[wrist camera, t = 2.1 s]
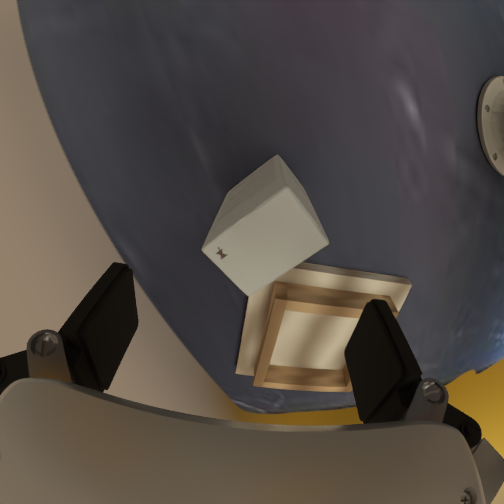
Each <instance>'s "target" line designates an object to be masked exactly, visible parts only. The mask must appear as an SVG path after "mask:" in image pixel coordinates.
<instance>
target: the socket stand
mask: <svg viewBox="0 0 504 504" xmlns="http://www.w3.org/2000/svg"><path fill="white" fill-rule="evenodd" d="M411 286H412V284H411V283H410V281H409V280H408V278H404V277H397V276H391V275H384V274H377V273H371V272H364V271H358V270H351V269H344V268H338V267H331V266H325V265H318V264H312V263H305V262H301V263H300V264H298V265H297V266H295V267H294V268H292V269H291V270H289V271H288V272H286V273H285V274H283V275H282V276H280V277H278V278H277V279H275V280H274V281H272V282H271V283H269V284H268V285H266V286H264V287H263V288H261V289H260V290H258V291H257V292H255V293H253V294H252V295H250V296H249V298H248V303H247V309H246V315H245V321H244V327H243V333H242V338H241V344H240V350H239V356H238V361H237V368H236V374H243V375H250V376H254V378H253V386H258V387H267V388H278V389H289V390H304V391H326V392H351V391H352V389H353V388H352V384H351V380H350V376H349V372H348V368H347V364H346V360H345V357H344V351H345V347H346V345H347V343H348V341H349V339H350V337H351V335H352V333H353V331H354V329H355V327H356V325H357V323H358V320H359V318H360V316H361V314H362V312H363V309H364V307H365V305H366V303H367V302H370V301H371V300H372V299H380V300H386V302H387V303H388V305H389V307H390V309H391V311H392V313H393V315H394V316H395V318H396V317H397V315H398V313H399V311H400V309H401V307H402V305H403V303H404V301H405V299H406V297H407V295H408V292H409V290H410V288H411Z"/></svg>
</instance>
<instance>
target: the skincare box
mask: <svg viewBox="0 0 504 504" xmlns="http://www.w3.org/2000/svg"><path fill="white" fill-rule="evenodd" d="M328 244H329V240H328V238H327V236H326V234H325V231H324V229H323V227H322V225H321V223H320V221H319V219H318V216H317V214H316V212H315V210H314V208H313V206H312V204H311V202H310V200H309V198H308V196H307V194H306V192H305V190H304V188H303V186H302V185H301V184H300V182H299V181H298V180H297V178H296V177H295V175H294V174H293V173H292V171H291V170H290V169H289V167H288V166H287V165H286V164H285V162H284V161H283V160H282V158H281V157H280V156H279V155H275V156H274V157H272V158H271V159H270V160H268V161H267V162H266V163H264V164H263V165H262V166H260V167H259V168H258V169H256V170H255V171H254V172H253V173H251V174H250V175H249V176H247V177H246V178H245V179H243V180H242V181H241V182H240V183H238V184H237V185H236V186H235V187H233V188H232V189H231V190H230V191H228V193H227V195H226V197H225V199H224V201H223V203H222V205H221V208H220V210H219V212H218V214H217V216H216V218H215V220H214V223H213V225H212V227H211V229H210V231H209V233H208V235H207V237H206V240H205V242H204V245H203V247H202V252H203V253H204V254H205V255H206V256H207V257H209V258H210V259H211V260H212V261H213V262H214V263H215V264H216V265H217V266H218V267H219V268H220V269H221V270H222V271H223V272H224V273H225V274H226V275H227V276H228V277H229V278H230V279H231V280H232V281H233V282H234V283H235V284H236V285H237V286H238V287H239V288H240V289H241V290H242V291H243V292H244V293H245V294H246V295H247V296H250V295H252V294H253V293H255V292H257V291H258V290H260V289H261V288H263V287H264V286H266V285H268V284H269V283H271V282H272V281H274V280H275V279H277V278H278V277H280V276H282V275H283V274H285V273H286V272H288V271H289V270H291V269H292V268H294V267H295V266H297V265H298V264H300V263H301V262H303V261H304V260H306V259H307V258H309V257H310V256H312V255H313V254H315V253H316V252H318V251H319V250H321V249H322V248H324V247H325V246H327V245H328Z"/></svg>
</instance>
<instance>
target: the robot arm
mask: <svg viewBox="0 0 504 504" xmlns="http://www.w3.org/2000/svg"><path fill="white" fill-rule="evenodd" d="M477 120H478V131H479V136H480V141H481V144H482V148H483V151H484V153H485V155H486V158H487V159H488V161H489V163H490V165H491V166H492V167H493V168H494V169H495V171H497V172H498V173H499V174H501V175H503V176H504V76H494V77H492V78H491V79H489V80H488V81H487V82H486V83H485V85H484V87H483V88H482V91H481V94H480V97H479V102H478V112H477ZM137 327H138V315H137V307H136V299H135V290H134V281H133V271H132V269H129V266H128V265H127V264H122V263H117V262H114V263H113V264H112V265H111V266H110V267H109V268H108V269H107V271H106V272H105V273H104V274H103V275H102V276H101V278H100V279H99V280H98V281H97V283H96V284H95V285H94V286H93V288H92V289H91V290H90V291H89V292H88V294H87V295H86V296H85V297H84V299H83V300H82V301H81V302H80V304H79V305H78V306H77V308H76V309H75V310H74V312H73V313H72V314H71V315H70V317H69V318H68V320H67V321H66V322H65V323H64V325H63V326H62V328H61V329H60V330H59V332H58V333H57V332H55V331H53V330H48V329H47V330H41V331H38V332H37V333H35V334H33V335H32V336H31V338H30V339H29V341H28V343H27V350H25V351H21V352H18V353H15V354H11V355H8V356H5V357H2V358H0V504H491V502H492V501H493V499H494V497H495V496H496V494H497V492H498V491H499V489H500V487H501V486H502V483H503V482H504V459H503V458H502V456H501V455H500V454H499V453H498V452H497V451H496V450H495V449H494V448H493V446H492V445H491V444H490V443H489V442H488V441H487V440H486V439H485V438H483V439H482V440H481V435H482V434H481V428H480V426H479V424H478V423H477V422H476V421H475V420H474V419H472V418H471V417H469V416H468V415H466V414H464V413H463V412H461V411H460V410H458V409H456V408H455V407H453V406H452V405H450V404H449V403H448V397H449V396H448V392H447V390H446V388H445V386H444V385H443V384H442V383H441V382H439V381H438V380H436V379H433V378H426V379H423V380H422V379H421V375H422V372H421V370H420V367H419V365H418V363H417V361H416V359H415V357H414V354H413V352H412V350H411V348H410V346H409V344H408V342H407V340H406V338H405V336H404V334H403V332H402V330H401V328H400V326H399V324H398V322H397V320H396V318H395V316H394V315H393V313H392V311H391V309H390V307H389V305H388V303H387V302H386V300H380V299H372V300H371V301H370V302H367V303H366V305H365V307H364V309H363V312H362V314H361V316H360V318H359V320H358V323H357V325H356V327H355V329H354V331H353V333H352V335H351V337H350V339H349V341H348V343H347V345H346V347H345V351H344V357H345V360H346V364H347V368H348V372H349V376H350V380H351V384H352V388H353V392H354V397H355V401H356V405H357V410H358V414H359V418H360V420H361V421H363V423H364V424H354V425H333V426H332V425H330V426H298V425H273V424H259V423H248V422H238V421H230V420H222V419H215V418H209V417H202V416H196V415H191V414H185V413H180V412H175V411H170V410H166V409H161V408H157V407H153V406H148V405H145V404H141V403H137V402H133V401H130V400H126V399H122V398H119V397H116V396H112V395H109V394H106V393H103V391H104V390H108V389H109V386H110V384H111V382H112V380H113V378H114V376H115V373H116V371H117V369H118V367H119V365H120V363H121V361H122V358H123V356H124V354H125V352H126V350H127V348H128V346H129V344H130V342H131V340H132V337H133V336H134V334H135V332H136V330H137Z"/></svg>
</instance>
